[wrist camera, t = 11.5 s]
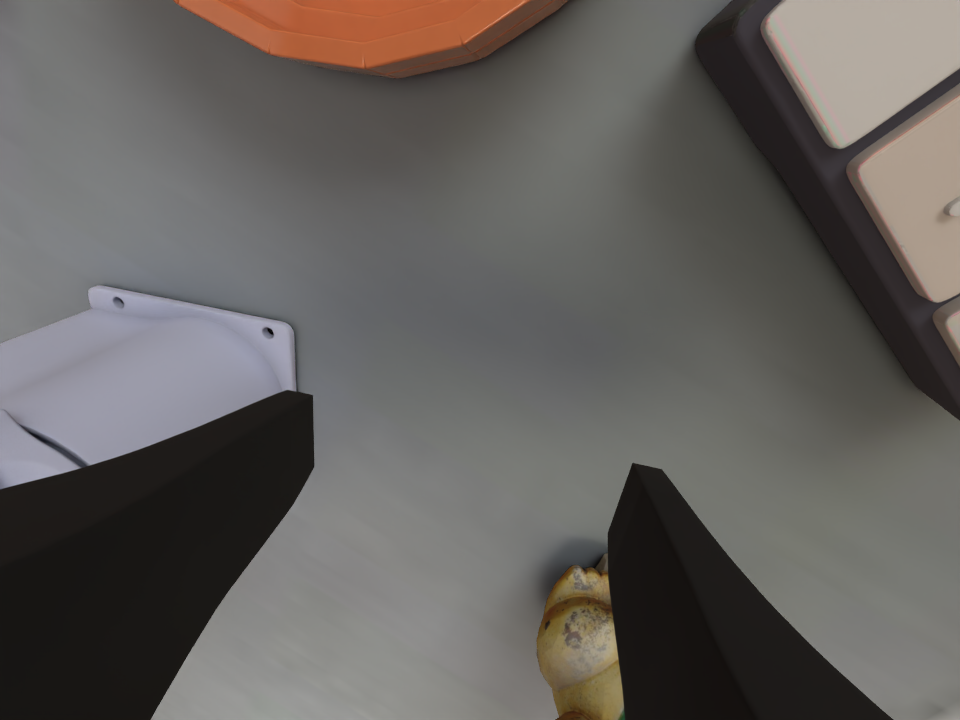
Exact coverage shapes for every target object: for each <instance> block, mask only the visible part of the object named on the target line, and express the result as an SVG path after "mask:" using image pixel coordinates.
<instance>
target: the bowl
mask: <svg viewBox="0 0 960 720" xmlns="http://www.w3.org/2000/svg"><path fill="white" fill-rule="evenodd" d="M173 1H174V2H175V3H176V4H179V5H180V6H181V7H182V8H184V9H186V10H188V11H189V12H191V13H193V14H195V15H197V16H199V17H201V18H202V19H204V20H206V21H208V22H210V23H212V24H213V25H215V26H217V27H219V28H221V29H223V30H224V31H226V32H228V33H230V34H232V35H234V36H235V37H237V38H239V39H241V40H243V41H245V42H247V43H248V44H250V45H252V46H254V47H256V48H258V49H259V50H261V51H263V52H265V53H267V54H270V55H272V56H276V57H280V58H284V59H288V60H292V61H296V62H300V63H304V64H308V65H312V66H316V67H321V68H328V69H334V70H341V71H347V72H354V73H361V74H367V75H374V76H380V77H387V78H394V79H395V78H404V77H409V76H413V75H418V74H422V73H426V72H431V71H435V70H439V69H444V68H448V67H452V66H457V65H461V64H465V63H470V62H474V61H478V60H479V59H480V58H484V57H486V56H487V55H489V54H490V53H492V52H494V51H495V50H497V49H498V48H500V47H501V46H503V45H504V44H506V43H507V42H509V41H510V40H512V39H513V38H515V37H517V36H518V35H520V34H521V33H523V32H524V31H526V30H527V29H529V28H530V27H532V26H533V25H535V24H536V23H538V22H540V21H541V20H543V19H544V18H546V17H547V16H549V15H550V14H552V13H553V12H555V11H556V10H558V9H560V8H561V6H562V4H565V3H566V2H567V1H568V0H173Z"/></svg>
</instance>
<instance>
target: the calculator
mask: <svg viewBox="0 0 960 720" xmlns="http://www.w3.org/2000/svg"><path fill="white" fill-rule="evenodd" d="M695 47H696V52H697V54H698V56H699V57H700V59H701V61H702V62H703V64H704V65H705V67H706V69H707V70H708V72H709V73H710V75H711V77H712V78H713V80H714V81H715V83H716V84H717V86H718V87H719V89H720V91H721V92H722V94H723V95H724V97H725V98H726V100H727V101H728V103H729V105H730V106H731V108H732V109H733V111H734V112H735V114H736V115H737V117H738V118H739V120H740V122H741V123H742V125H743V126H744V128H745V129H746V131H747V132H748V134H749V136H750V137H751V139H752V140H753V142H754V143H755V144H756V146H757V147H758V148H759V149H760V150H761V151H762V152H763V154H764V155H765V156H766V157H767V158H768V159H769V160H770V162H771V163H772V164H773V165H774V166H775V167H776V168H777V170H778V171H779V173H780V174H781V176H782V177H783V179H784V180H785V182H786V184H787V185H788V187H789V188H790V190H791V191H792V193H793V195H794V196H795V198H796V199H797V201H798V202H799V204H800V206H801V207H802V209H803V210H804V212H805V213H806V215H807V217H808V218H809V220H810V221H811V223H812V224H813V226H814V228H815V229H816V231H817V232H818V234H819V235H820V237H821V239H822V240H823V242H824V243H825V245H826V246H827V248H828V249H829V251H830V253H831V254H832V256H833V257H834V259H835V260H836V262H837V264H838V265H839V267H840V268H841V270H842V271H843V273H844V275H845V276H846V278H847V279H848V281H849V282H850V284H851V286H852V287H853V289H854V290H855V292H856V293H857V295H858V297H859V298H860V300H861V301H862V303H863V304H864V306H865V308H866V309H867V311H868V312H869V314H870V315H871V317H872V319H873V320H874V322H875V323H876V325H877V326H878V328H879V330H880V331H881V333H882V334H883V336H884V337H885V339H886V341H887V342H888V344H889V345H890V347H891V348H892V350H893V352H894V353H895V355H896V356H897V358H898V359H899V361H900V363H901V364H902V366H903V367H904V369H905V370H906V372H907V374H908V375H909V377H910V378H911V380H912V381H913V383H914V384H915V386H916V387H917V388H918V389H920V390H921V391H922V392H923V393H925V394H926V395H927V396H929V397H930V398H931V399H933V400H934V401H935V402H936V403H938V404H939V405H940V406H942V407H943V408H944V409H945V410H947V411H948V412H949V413H951V414H952V415H953V416H955V417H956V418H957V419H958V420H960V0H733V1H732V2H731V3H730V4H729V5H727V6H726V7H725V8H724V9H723V10H722V11H721V12H720V13H719V14H717V15H716V16H715V17H714V18H713V19H712V20H711V21H710V22H709V23H708V24H707V25H706V26H705V27H704V28H703V29H702V30H701V31H700V32H699V34H698V36H697V39H696V44H695Z"/></svg>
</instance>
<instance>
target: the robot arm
mask: <svg viewBox="0 0 960 720" xmlns="http://www.w3.org/2000/svg"><path fill="white" fill-rule="evenodd" d="M88 297H89V301H90V306H91V309H90V310H87V311H84V312H82V313H79V314H76V315H74V316H71V317H68V318H66V319H63V320H60V321H58V322H55V323H53V324H50V325H47V326H45V327H42V328H39V329H37V330H34V331H31V332H29V333H26V334H23V335H21V336H18V337H15V338H13V339H10V340H7V341H5V342H2V343H0V720H151V718H152V716H153V714H154V712H155V711H156V709H157V707H158V705H159V704H160V702H161V700H162V699H163V697H164V695H165V693H166V692H167V690H168V688H169V687H170V685H171V683H172V681H173V680H174V678H175V676H176V674H177V673H178V671H179V669H180V668H181V666H182V664H183V662H184V661H185V659H186V657H187V656H188V654H189V652H190V651H191V649H192V647H193V646H194V644H195V643H196V641H197V639H198V638H199V636H200V634H201V633H202V631H203V630H204V628H205V626H206V625H207V623H208V621H209V620H210V618H211V616H212V615H213V613H214V612H215V610H216V609H217V607H218V606H219V604H220V603H221V601H222V600H223V598H224V597H225V596H226V594H227V593H228V591H229V590H230V588H231V587H232V586H233V584H234V583H235V582H236V580H237V579H238V578H239V576H240V575H241V574H242V572H243V571H244V570H245V568H246V567H247V566H248V564H249V563H250V562H251V560H252V559H253V558H254V556H255V555H256V554H257V552H258V551H259V550H260V548H261V547H262V546H263V545H264V543H265V542H266V541H267V539H268V538H269V537H270V535H271V534H272V533H273V531H274V530H275V528H276V527H277V526H278V524H279V523H280V522H281V520H282V519H283V518H284V516H285V515H286V514H287V512H288V511H289V509H290V508H291V507H292V505H293V504H294V502H295V500H296V499H297V497H298V495H299V493H300V492H301V490H302V488H303V486H304V485H305V483H306V481H307V479H308V477H309V475H310V473H311V472H312V470H313V468H314V432H313V395H310V394H305V393H301V392H296V369H295V343H294V332H293V329H292V328H291V326H290V325H288V324H287V323H285V322H282V321H277V320H272V319H267V318H262V317H257V316H252V315H247V314H242V313H237V312H232V311H227V310H222V309H217V308H212V307H207V306H202V305H197V304H192V303H187V302H182V301H177V300H172V299H167V298H162V297H157V296H152V295H147V294H142V293H137V292H132V291H127V290H122V289H117V288H112V287H107V286H102V285H98V286H95V287H92V288H91V289H89V291H88ZM121 300H122V301H123V303H124V304H123V303H122V302H121ZM267 327H268V328H270V329H271V330H272V331H273V333H274V335H272V334H270V333H269V332H268V329H267ZM608 582H609V590H610V598H611V606H612V614H613V622H614V629H615V637H616V645H617V652H618V660H619V667H620V675H621V683H622V691H623V702H624V713H625V720H893V719H892V718H891V717H890V716H888V715H887V714H886V713H885V712H884V711H882V710H881V709H880V708H879V707H878V706H877V705H876V704H875V703H873V702H872V701H871V700H870V699H869V698H868V697H867V696H866V695H864V694H863V693H862V692H861V691H860V690H859V689H858V688H857V687H856V686H854V685H853V684H852V683H851V682H850V681H849V680H848V679H847V678H846V677H844V676H843V675H842V674H841V673H840V672H839V671H838V670H837V669H836V668H834V667H833V666H832V665H831V664H830V663H829V662H828V661H827V660H826V659H825V658H824V657H823V656H822V655H821V654H820V653H819V652H818V651H816V650H815V649H814V648H813V647H812V646H811V645H810V644H809V643H808V642H807V641H806V640H805V639H804V638H803V637H802V636H801V635H800V634H799V633H798V632H797V631H796V630H795V629H794V628H793V627H792V625H791V624H790V623H789V622H788V621H787V620H786V619H785V618H784V617H783V616H782V615H781V614H780V613H779V612H778V611H777V610H776V609H775V608H774V607H773V606H772V605H771V604H770V603H769V602H768V601H767V600H766V598H765V597H764V596H763V595H762V594H761V593H760V592H759V591H758V590H757V588H756V587H755V586H754V585H753V584H752V583H751V582H750V580H749V579H748V578H747V577H746V576H745V575H744V574H743V572H742V571H741V570H740V569H739V568H738V567H737V566H736V564H735V563H734V562H733V561H732V560H731V558H730V557H729V556H728V555H727V554H726V552H725V551H724V550H723V549H722V547H721V546H720V545H719V544H718V542H717V541H716V540H715V539H714V537H713V536H712V535H711V534H710V532H709V531H708V530H707V528H706V527H705V526H704V525H703V523H702V522H701V521H700V519H699V518H698V517H697V515H696V514H695V513H694V511H693V510H692V509H691V507H690V506H689V505H688V503H687V502H686V501H685V499H684V498H683V497H682V495H681V494H680V493H679V491H678V490H677V489H676V487H675V486H674V485H673V483H672V482H671V481H670V479H669V478H668V477H667V475H666V474H665V473H664V472H663V470H662V469H658V468H653V467H649V466H644V465H639V464H635V463H632V466H631V469H630V472H629V475H628V477H627V480H626V483H625V486H624V489H623V492H622V494H621V497H620V500H619V503H618V506H617V509H616V511H615V514H614V517H613V520H612V523H611V526H610V528H609V531H608Z"/></svg>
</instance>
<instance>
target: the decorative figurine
mask: <svg viewBox="0 0 960 720" xmlns="http://www.w3.org/2000/svg"><path fill="white" fill-rule="evenodd" d="M537 658H538V662H539V666H540V671H541V673H542V675H543V677H544V678H545V680H546V681H547V683H548V684H549V685H550V687H551V688H552V691H553V696H554V701H555V704H556V708H557V711H558V715H559V718H557V719H556V720H625V713H624V702H623V691H622V683H621V675H620V667H619V660H618V652H617V645H616V637H615V629H614V622H613V614H612V606H611V598H610V590H609V582H608V553H606V554H604V556H603V557H602V558H601V561H600V562H599V564H598V565H597V566H596V568H595V569H594V568H592V567H588V568H585V569H583V568H581V567H580V566H579V565H573V566H571V567H570V568H569V569H568V570H567V571H566V572H565V573H564V574H563V575H562V576H561V578H560V579H559V580H558V581H557V582H556V583H555V585H554V587H553V588H552V590H551V592H550V594H549V597H548V599H547V602H546V606H545V611H544V616H543V620H542V622H541V625H540V628H539V632H538V636H537Z"/></svg>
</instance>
